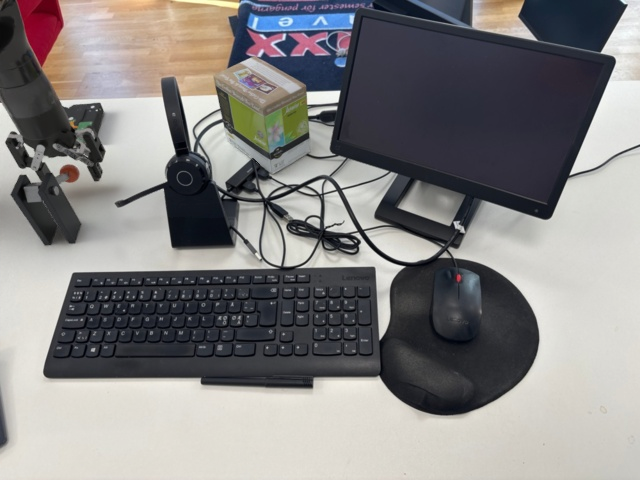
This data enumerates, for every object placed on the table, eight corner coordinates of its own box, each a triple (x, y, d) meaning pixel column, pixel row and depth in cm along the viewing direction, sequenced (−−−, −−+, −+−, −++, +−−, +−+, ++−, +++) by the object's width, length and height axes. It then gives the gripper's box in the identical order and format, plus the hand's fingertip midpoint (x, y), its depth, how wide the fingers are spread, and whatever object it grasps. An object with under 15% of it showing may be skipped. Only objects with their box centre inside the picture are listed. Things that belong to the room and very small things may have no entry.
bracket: (50, 219, 90) (15, 163, 81) (96, 216, 91) (66, 159, 81) (33, 264, 84) (-8, 208, 74) (83, 260, 84) (48, 204, 74)
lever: (66, 180, 92) (62, 163, 91) (84, 179, 92) (80, 161, 91) (24, 205, 78) (18, 184, 77) (45, 203, 78) (40, 183, 77)
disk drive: (56, 117, 111) (38, 161, 101) (51, 106, 109) (32, 150, 99) (105, 112, 111) (92, 156, 102) (100, 101, 109) (87, 144, 99)
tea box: (312, 151, 100) (308, 84, 89) (272, 176, 96) (262, 108, 84) (264, 119, 107) (254, 52, 96) (225, 140, 103) (210, 74, 92)
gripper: (83, 84, 82) (118, 163, 94) (-7, 91, 82) (40, 169, 94) (72, 112, 77) (110, 192, 89) (-25, 120, 77) (27, 198, 89)
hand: (74, 180), depth 92 cm, fingers open, 8 cm apart
